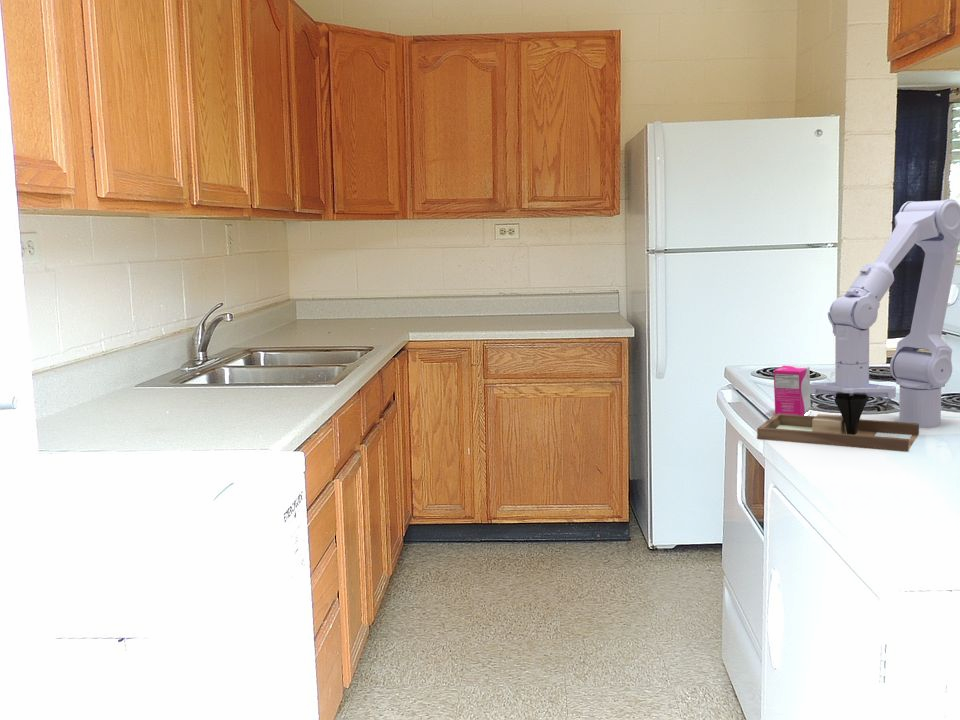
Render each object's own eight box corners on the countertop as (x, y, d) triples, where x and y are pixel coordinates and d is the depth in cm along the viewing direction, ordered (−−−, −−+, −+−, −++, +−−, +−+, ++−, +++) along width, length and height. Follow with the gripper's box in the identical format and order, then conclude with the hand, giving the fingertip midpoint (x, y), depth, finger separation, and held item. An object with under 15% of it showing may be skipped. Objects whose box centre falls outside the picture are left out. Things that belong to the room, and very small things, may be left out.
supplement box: (783, 417, 190) (783, 364, 188) (811, 420, 186) (811, 366, 184) (773, 423, 186) (773, 369, 184) (802, 426, 182) (801, 371, 180)
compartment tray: (776, 430, 179) (776, 413, 179) (918, 441, 165) (919, 423, 164) (757, 446, 169) (757, 428, 168) (907, 459, 154) (907, 440, 154)
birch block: (818, 431, 171) (818, 413, 170) (846, 433, 168) (846, 415, 168) (812, 437, 167) (812, 419, 166) (840, 440, 164) (840, 421, 163)
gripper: (805, 363, 164) (806, 435, 166) (891, 367, 156) (890, 442, 158) (815, 357, 169) (815, 426, 172) (898, 360, 161) (897, 433, 164)
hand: (851, 433), depth 165 cm, fingers closed
